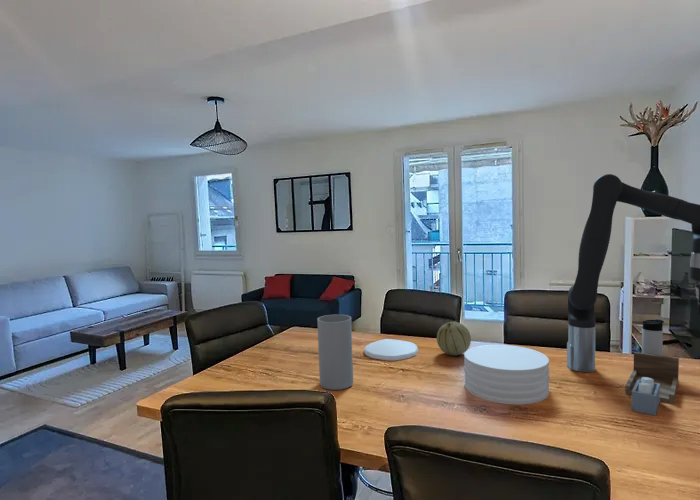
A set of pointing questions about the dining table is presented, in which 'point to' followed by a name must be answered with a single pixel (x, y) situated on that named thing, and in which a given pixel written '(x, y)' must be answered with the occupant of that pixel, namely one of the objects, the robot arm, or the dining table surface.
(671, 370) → the shelf
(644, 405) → the caddy
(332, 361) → the cylinder vase
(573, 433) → the dining table surface
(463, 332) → the cantaloupe
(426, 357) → the dining table surface
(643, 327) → the travel mug
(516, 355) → the plate stack
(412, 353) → the decorative plate
